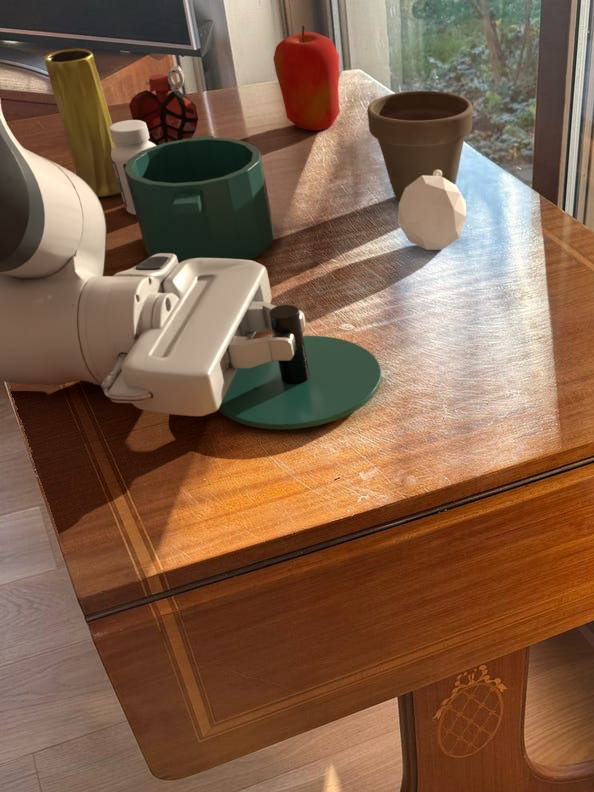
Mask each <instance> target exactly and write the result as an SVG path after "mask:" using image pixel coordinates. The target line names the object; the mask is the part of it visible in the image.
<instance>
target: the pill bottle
mask: <svg viewBox="0 0 594 792" xmlns="http://www.w3.org/2000/svg"><path fill="white" fill-rule="evenodd" d="M109 129H110V133H111V138H112V140H113V142H114V143H115V144H116V146H115V147H114V148H113V150H112V152H111V158H112V162H113V166H114V169H115V173H116V176H117V180H118V183H119V187H120V190H121V193H120V194H121V197H122V200H123V204H124V208H125V210H126V211H127V212H128V213H129V214H130V215H134V216H136V212H135V208H134V204H133V201H132V197H131V193H130V190H129V186H128V182H127V179H126V175H125V171H124V169H125V167H126V164H127V162H128V160H129V159H130V158H132V157H133V156H135V155H136V154H138V153H139V152H141V151H143V150H146V149H149V148H151V147H154V146H156V145H155V144H154V143H152V142H150V141H149V140H148V139H149V132H148V129H147V125H146V123H145V122H143V121H140V120H133V119H127V120H126V119H125V120H122V121H117V122H114V123H112V125H111V126H110V127H109Z"/></svg>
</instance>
